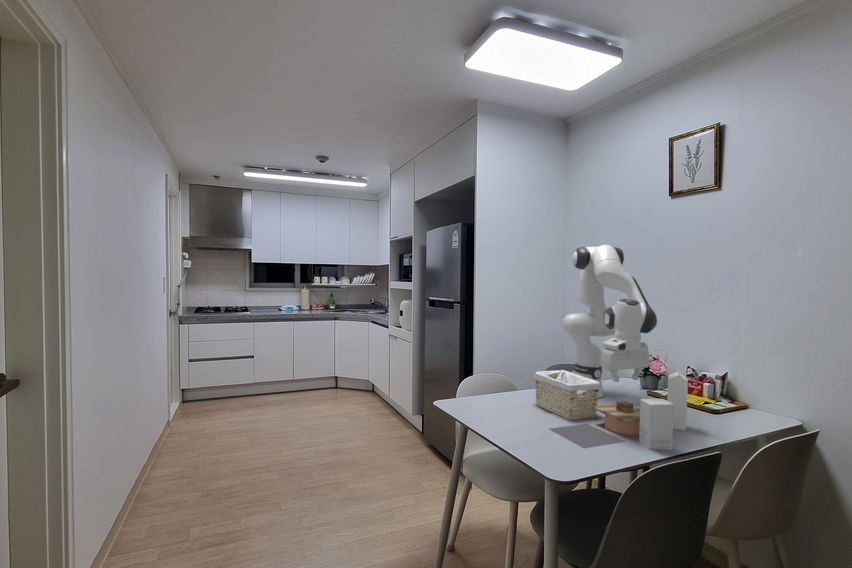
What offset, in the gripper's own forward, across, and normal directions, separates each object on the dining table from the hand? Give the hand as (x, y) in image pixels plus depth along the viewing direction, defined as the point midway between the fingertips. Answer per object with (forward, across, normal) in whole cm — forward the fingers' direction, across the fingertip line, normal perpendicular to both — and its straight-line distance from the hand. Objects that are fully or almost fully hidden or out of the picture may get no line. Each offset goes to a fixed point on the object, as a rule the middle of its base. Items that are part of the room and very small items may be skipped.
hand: (625, 380), depth 154 cm
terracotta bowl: (+18, 0, +1) cm, 18 cm away
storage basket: (+19, +7, -24) cm, 31 cm away
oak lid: (+12, 0, +1) cm, 12 cm away
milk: (+19, -22, +5) cm, 29 cm away
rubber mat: (+18, +19, +2) cm, 26 cm away
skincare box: (+18, +3, +16) cm, 25 cm away
